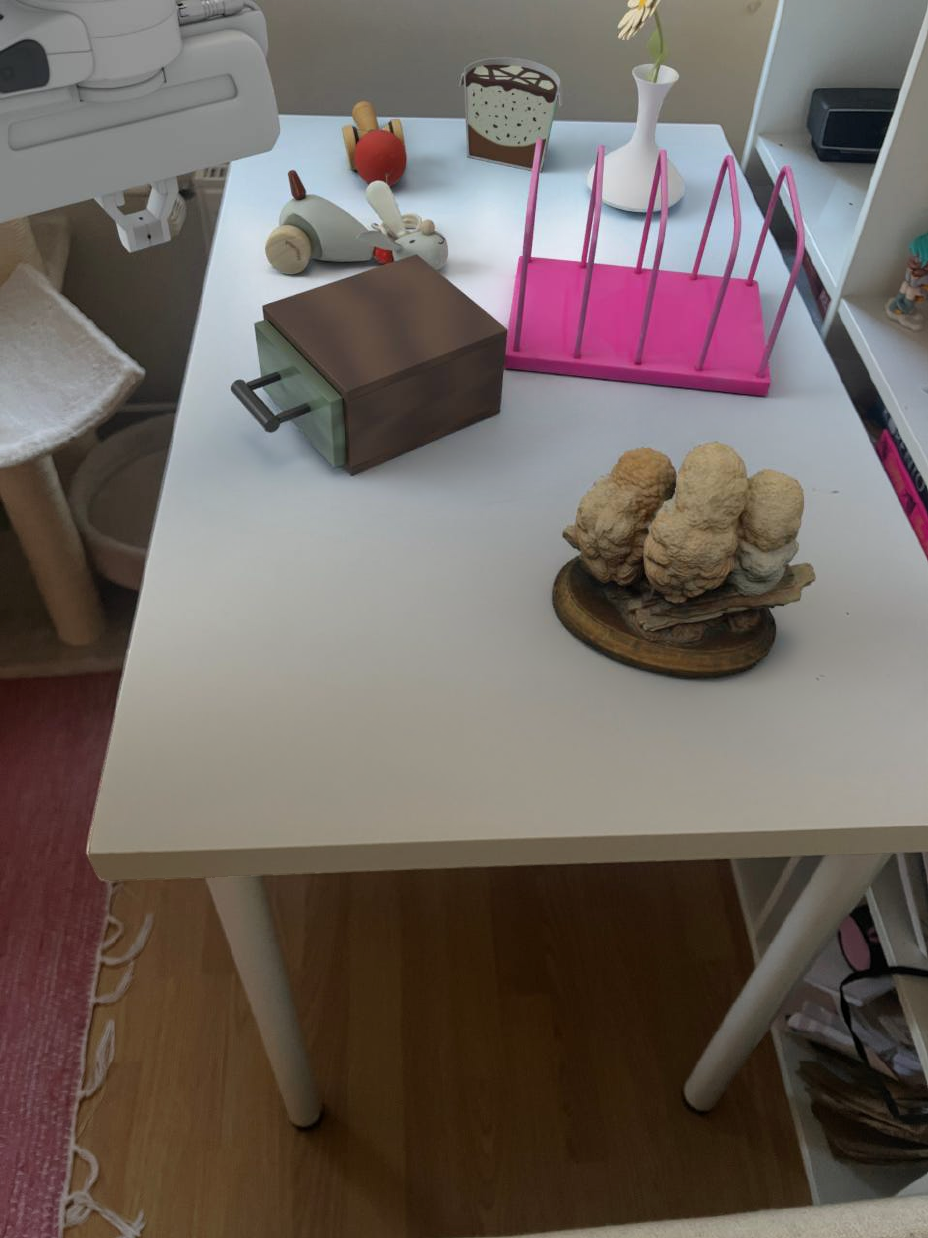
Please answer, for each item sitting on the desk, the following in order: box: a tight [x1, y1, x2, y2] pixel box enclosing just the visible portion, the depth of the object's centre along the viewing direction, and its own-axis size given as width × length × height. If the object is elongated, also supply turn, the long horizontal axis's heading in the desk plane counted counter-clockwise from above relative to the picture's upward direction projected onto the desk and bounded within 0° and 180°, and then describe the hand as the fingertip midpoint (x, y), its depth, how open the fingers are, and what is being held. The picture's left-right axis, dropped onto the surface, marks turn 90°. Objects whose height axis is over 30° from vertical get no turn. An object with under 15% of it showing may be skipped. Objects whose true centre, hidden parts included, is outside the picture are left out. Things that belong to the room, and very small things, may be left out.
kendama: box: [341, 100, 408, 187], centre depth 119 cm, size 8×6×18 cm
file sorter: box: [504, 139, 806, 397], centre depth 94 cm, size 17×25×16 cm
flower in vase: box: [586, 0, 685, 213], centre depth 108 cm, size 13×11×25 cm
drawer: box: [230, 319, 347, 469], centre depth 86 cm, size 19×13×7 cm, turn 126°
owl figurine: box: [551, 441, 817, 679], centre depth 70 cm, size 18×12×17 cm, turn 75°
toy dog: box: [264, 169, 449, 275], centre depth 103 cm, size 12×19×9 cm, turn 104°
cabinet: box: [261, 254, 508, 477], centre depth 88 cm, size 16×14×9 cm
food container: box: [458, 57, 564, 174], centre depth 119 cm, size 12×6×10 cm, turn 71°
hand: (146, 243), depth 68 cm, fingers closed
